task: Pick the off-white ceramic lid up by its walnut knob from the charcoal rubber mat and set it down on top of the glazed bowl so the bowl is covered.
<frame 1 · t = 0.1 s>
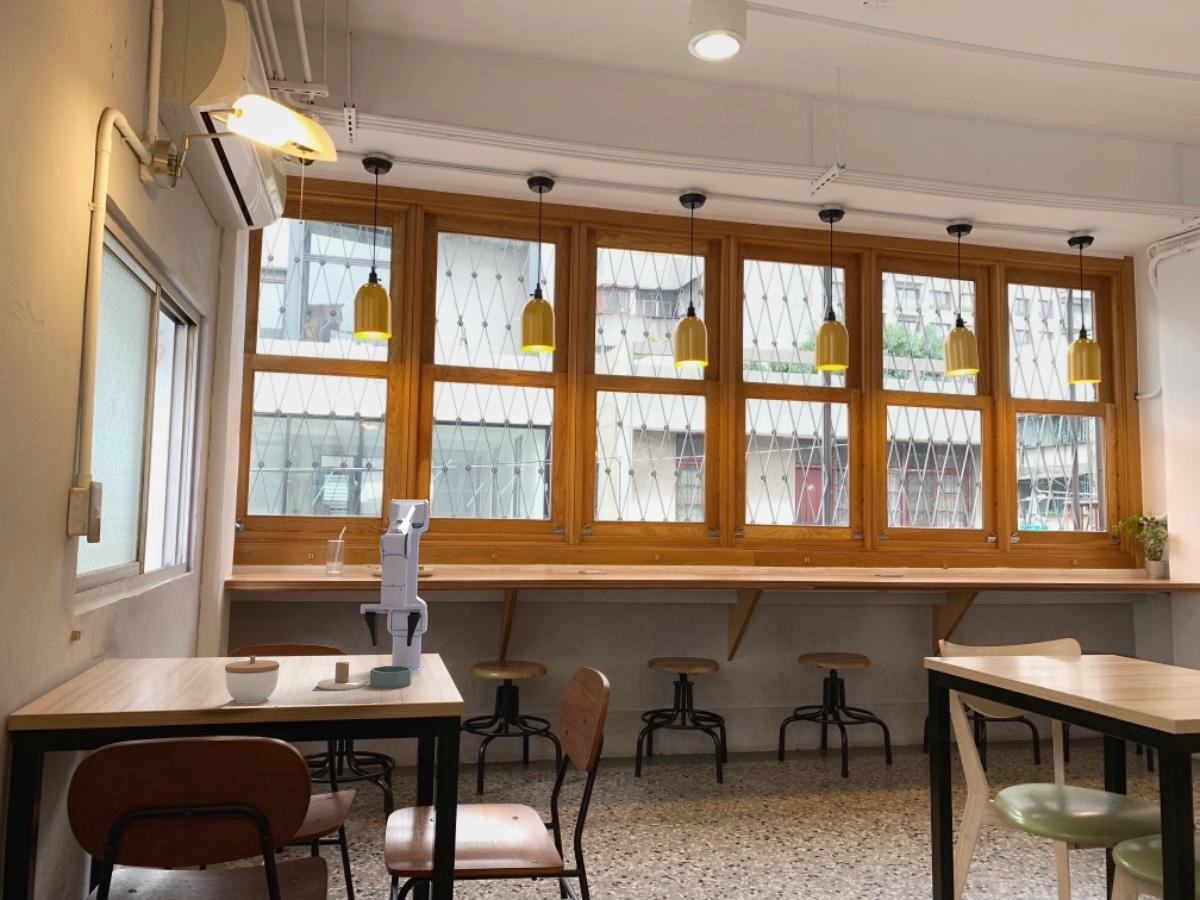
hand: (392, 645, 208), 10 cm above the table, tool pointing down, fingers open, 7 cm apart
mat: (341, 687, 209), on the table
bowl: (390, 686, 211), on the table
lidded jar: (251, 702, 193), on the table
lid: (341, 685, 209), resting on mat
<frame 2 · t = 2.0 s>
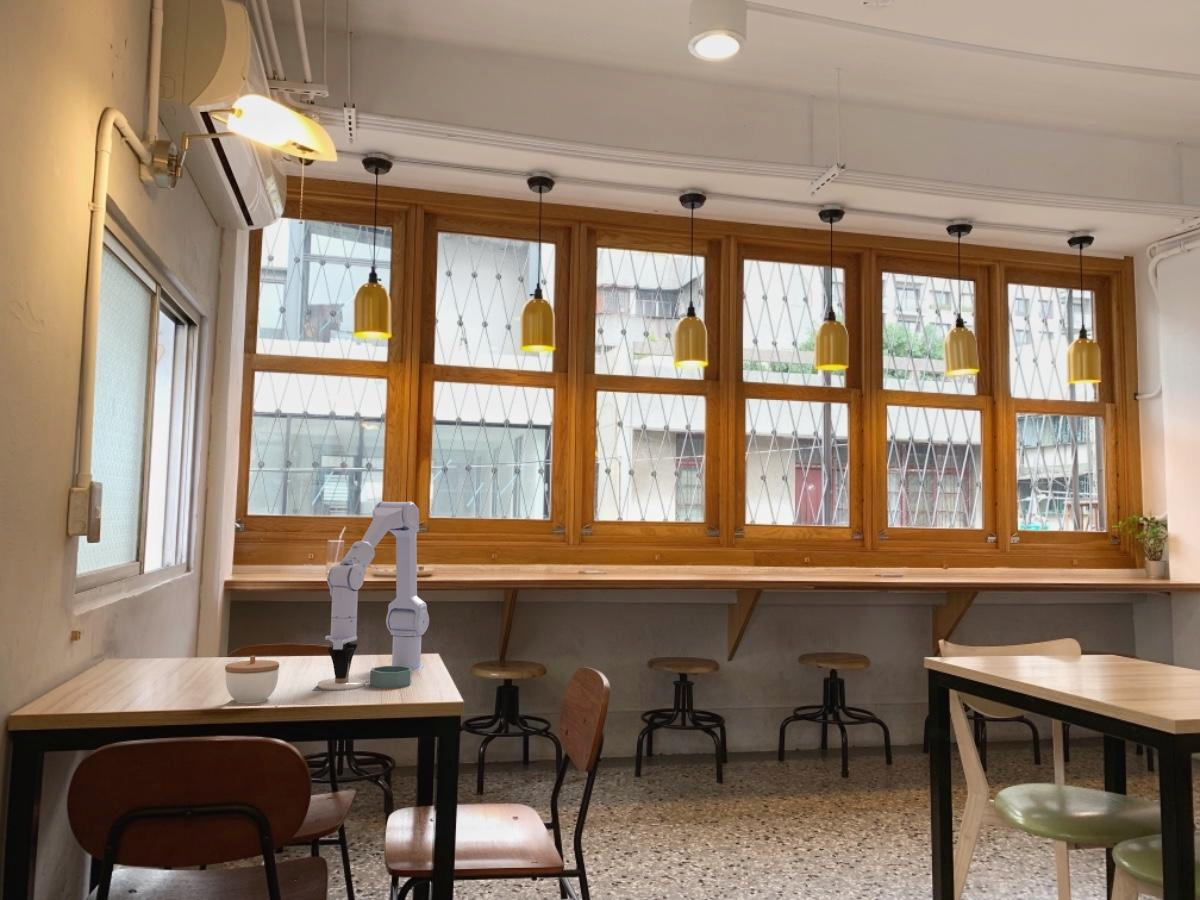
hand: (341, 676, 209), 2 cm above the table, tool pointing down, fingers closed on lid, 3 cm apart
lid: (341, 685, 209), resting on mat, touching gripper
everything else where it was.
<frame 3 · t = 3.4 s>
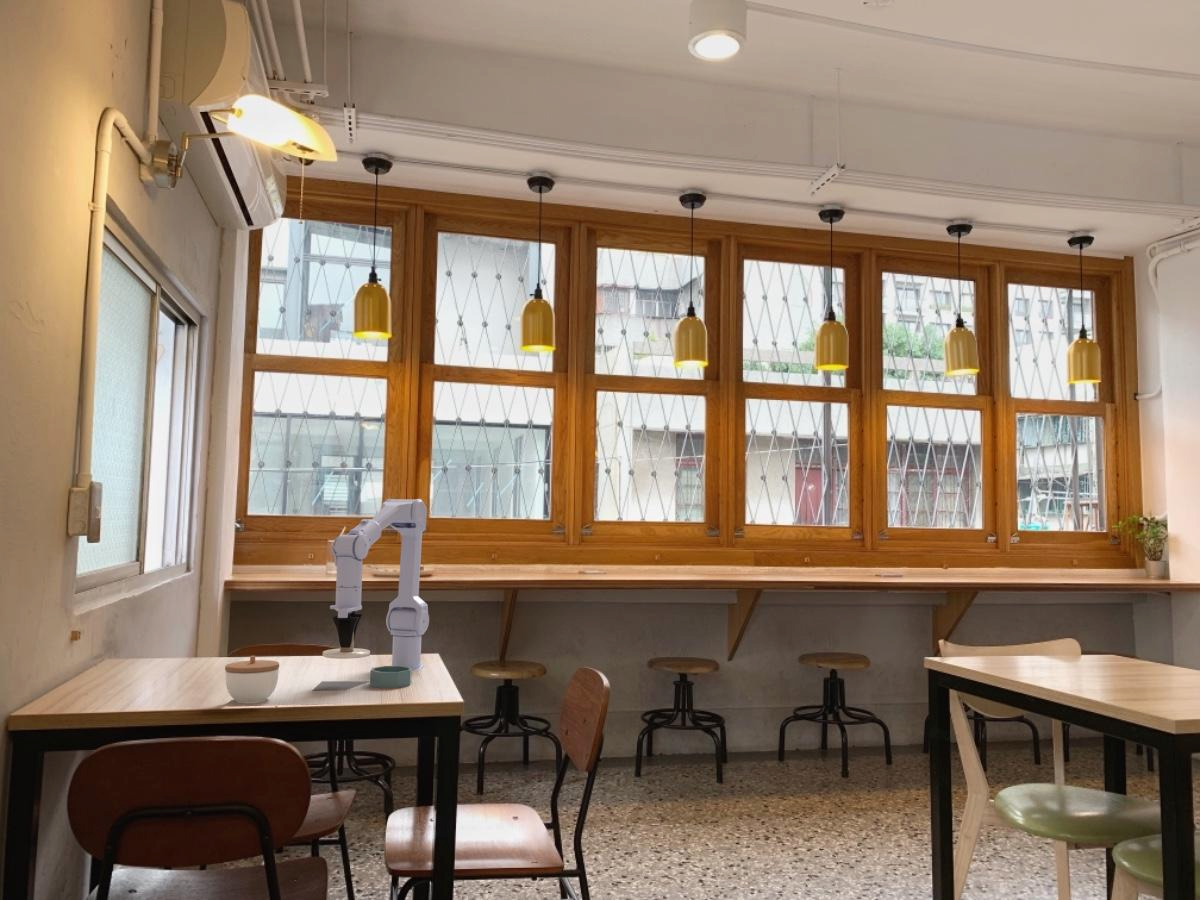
hand: (346, 646, 210), 9 cm above the table, tool pointing down, fingers closed on lid, 3 cm apart
lid: (346, 655, 210), point 7 cm above the table, touching gripper
everything else where it was.
when the fingers open (7 cm above the table, at t = 4.7 s): lid drops 1 cm, resting on bowl.
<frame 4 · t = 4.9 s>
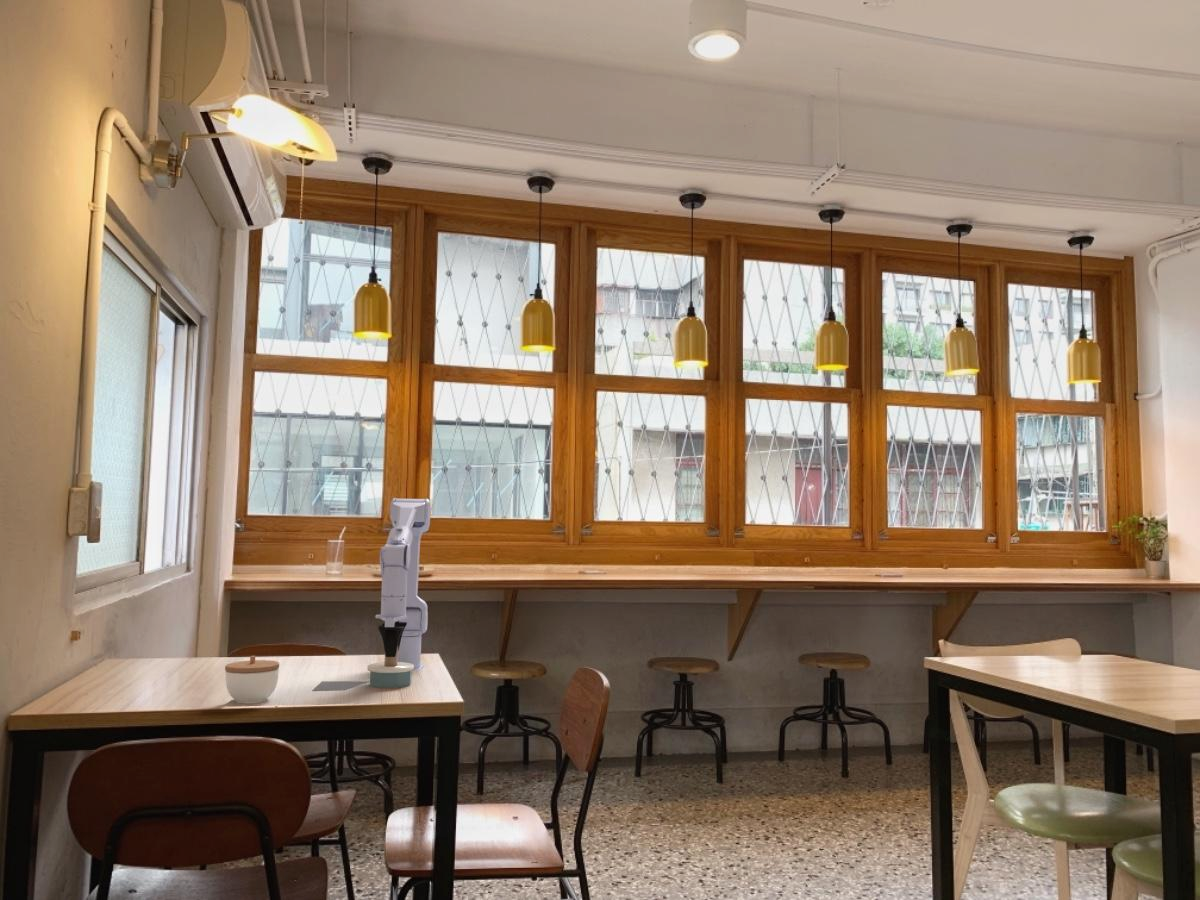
hand: (391, 655, 212), 7 cm above the table, tool pointing down, fingers open, 5 cm apart
bowl: (390, 686, 211), on the table, touching lid
lid: (390, 669, 212), point 4 cm above the table, touching bowl
everything else where it was.
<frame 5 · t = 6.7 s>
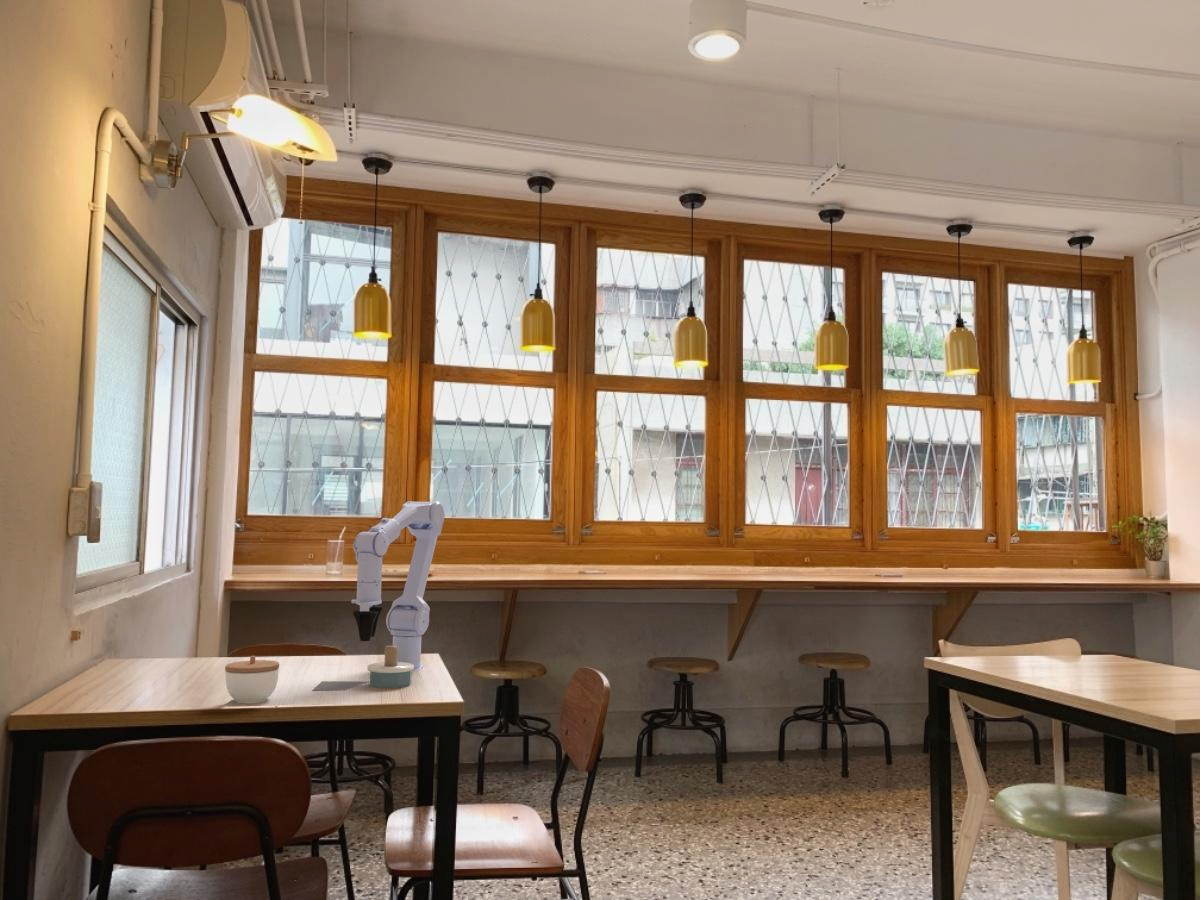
hand: (367, 638, 219), 10 cm above the table, tool pointing down, fingers open, 7 cm apart
nothing on the table moved.
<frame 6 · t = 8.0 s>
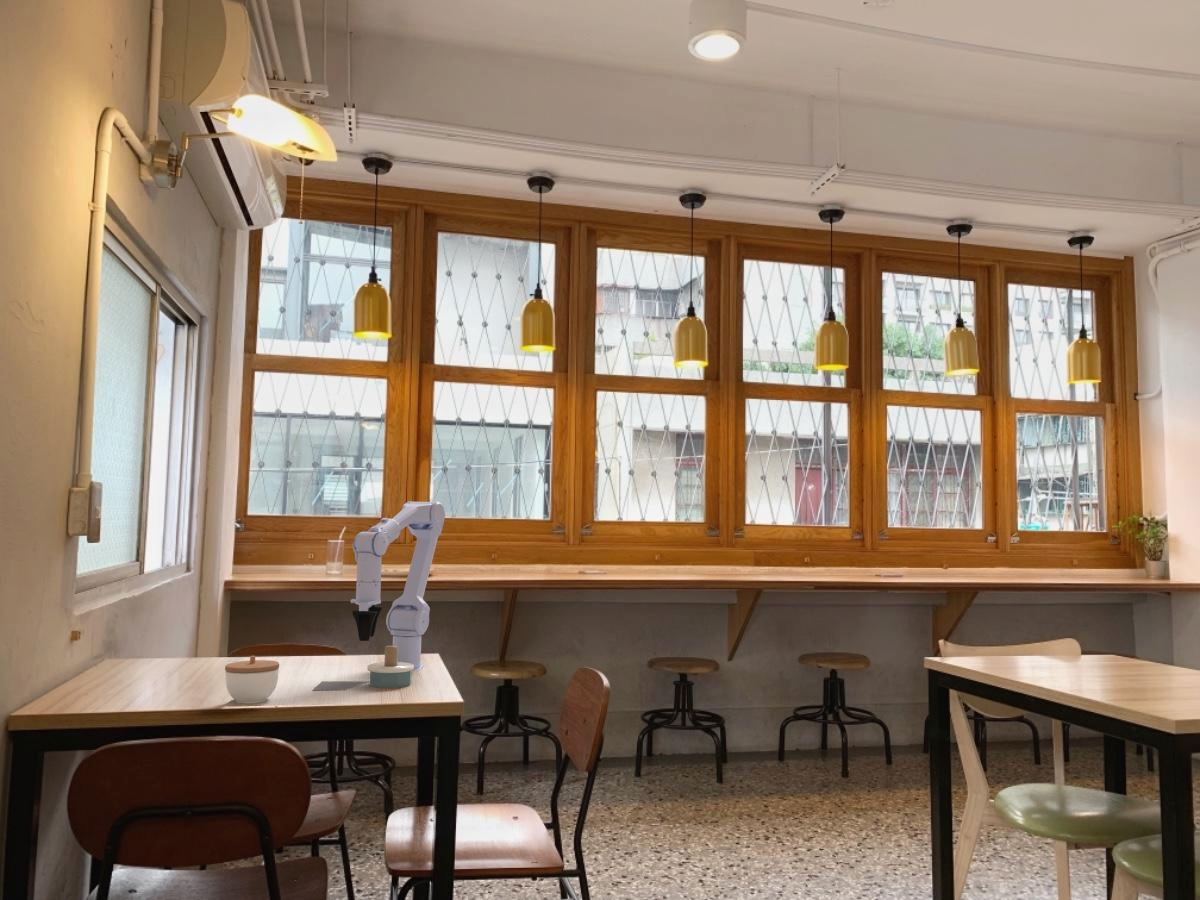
hand: (366, 638, 219), 10 cm above the table, tool pointing down, fingers open, 7 cm apart
nothing on the table moved.
at the end: lid 0.2 cm from the bowl (horizontally); lid point 4.0 cm above the table; lid tilted 0° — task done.
